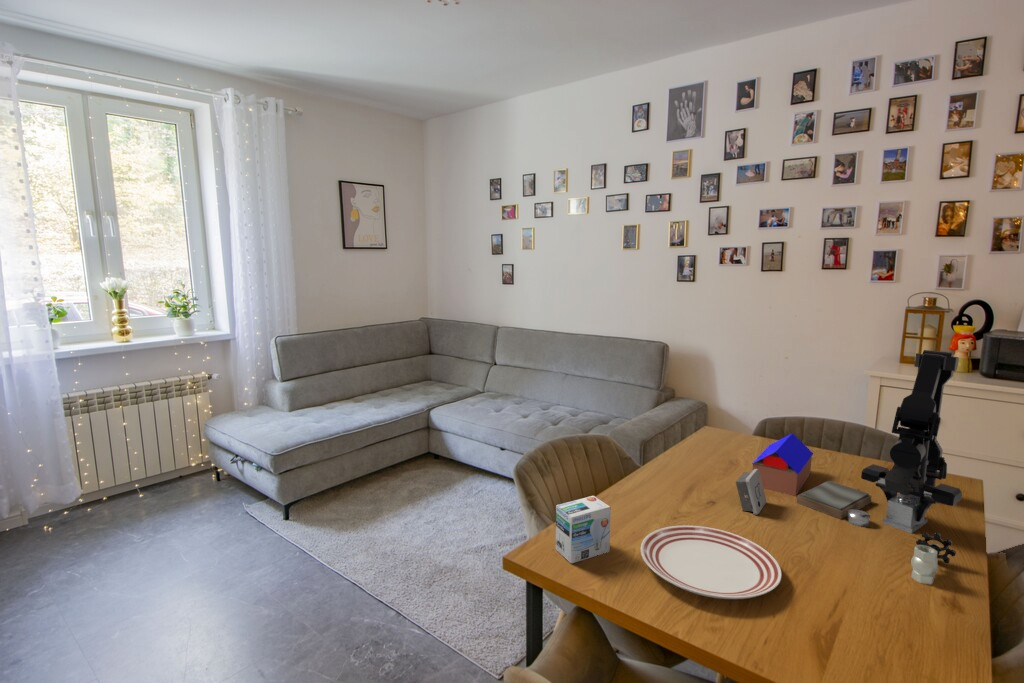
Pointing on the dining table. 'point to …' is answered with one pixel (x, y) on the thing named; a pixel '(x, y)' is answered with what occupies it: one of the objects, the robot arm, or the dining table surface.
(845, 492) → the stand
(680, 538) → the dinner plate
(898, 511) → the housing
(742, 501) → the electrical switch
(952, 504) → the robot arm
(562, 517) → the white box
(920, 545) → the valve
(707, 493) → the dining table surface
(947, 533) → the dining table surface
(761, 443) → the dining table surface
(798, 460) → the house
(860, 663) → the dining table surface
